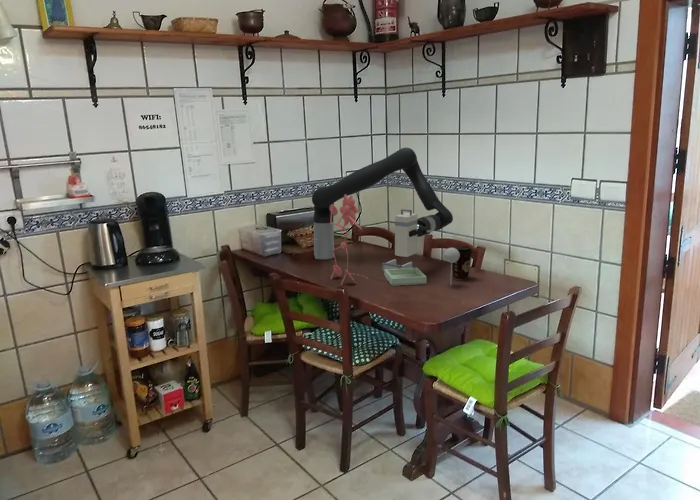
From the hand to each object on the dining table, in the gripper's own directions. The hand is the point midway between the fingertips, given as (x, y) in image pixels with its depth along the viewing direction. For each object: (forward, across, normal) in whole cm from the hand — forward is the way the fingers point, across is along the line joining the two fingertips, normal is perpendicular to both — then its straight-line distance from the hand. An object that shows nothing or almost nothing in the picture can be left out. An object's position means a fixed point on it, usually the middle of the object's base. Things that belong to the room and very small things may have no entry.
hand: (403, 233), depth 216 cm
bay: (-14, -10, +20) cm, 26 cm away
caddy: (-3, 0, +9) cm, 9 cm away
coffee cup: (-16, +18, +20) cm, 31 cm away
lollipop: (-6, +19, +20) cm, 28 cm away
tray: (-2, 0, +20) cm, 20 cm away
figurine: (+10, -19, +20) cm, 29 cm away
